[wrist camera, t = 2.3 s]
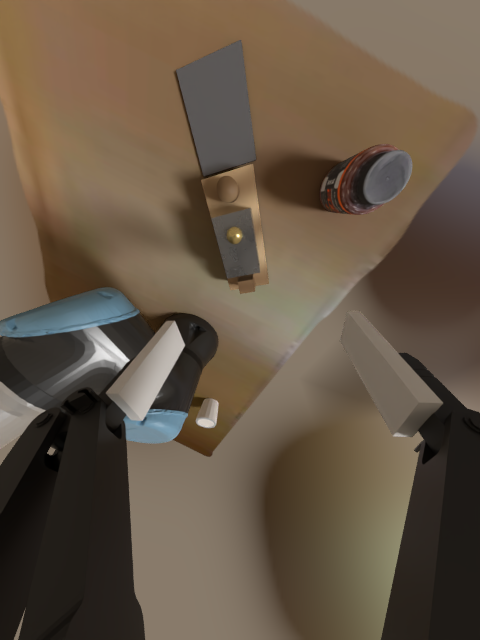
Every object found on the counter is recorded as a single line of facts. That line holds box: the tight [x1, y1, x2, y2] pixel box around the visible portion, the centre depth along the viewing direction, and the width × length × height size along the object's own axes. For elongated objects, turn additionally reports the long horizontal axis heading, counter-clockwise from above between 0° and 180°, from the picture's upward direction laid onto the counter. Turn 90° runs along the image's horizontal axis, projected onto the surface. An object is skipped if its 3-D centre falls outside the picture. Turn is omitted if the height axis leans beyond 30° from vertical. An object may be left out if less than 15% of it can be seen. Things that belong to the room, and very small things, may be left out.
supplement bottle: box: [320, 144, 412, 215], centre depth 20 cm, size 6×6×11 cm
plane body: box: [201, 164, 269, 294], centre depth 26 cm, size 16×7×8 cm, turn 13°
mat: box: [176, 40, 256, 177], centre depth 22 cm, size 8×10×1 cm
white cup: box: [196, 398, 219, 428], centre depth 58 cm, size 7×7×7 cm
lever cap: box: [211, 208, 260, 279], centre depth 24 cm, size 5×8×4 cm, turn 13°
